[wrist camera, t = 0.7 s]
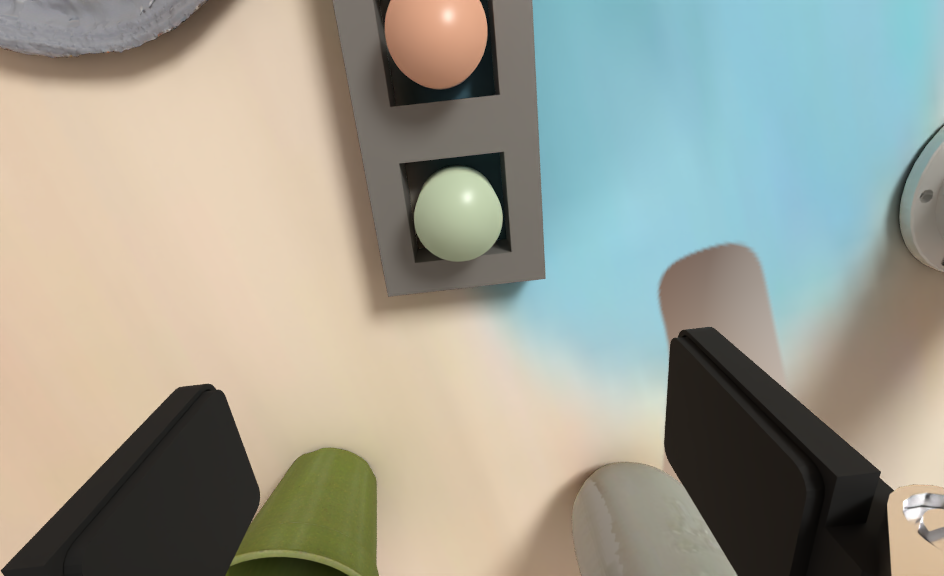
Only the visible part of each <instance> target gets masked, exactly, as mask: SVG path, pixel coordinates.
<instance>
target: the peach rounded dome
mask: <svg viewBox="0 0 944 576" xmlns="http://www.w3.org/2000/svg"><path fill="white" fill-rule="evenodd" d="M385 38H386V42H387V46H388V49H389V52H390V54H391V56H392V59H393V60H394V62H395V63H396V65H397V66H398V68H399V69H400V70H401V71H402V72H403V73H404V74H405V75H406V76H407V77H409V78H410V79H411V80H413V81H415V82H416V83H418V84H420V85H422V86H424V87H426V88H430V89H435V90H444V89H450V88H452V87H455V86H457V85H459V84H461V83H462V82H464V81H465V80H466V79H467V78H468V77H469V76H470V75H471V74H472V72H473V71H474V70H475V68H476V67H477V65H478V64H479V62H480V60H481V58H482V56H483V54H484V51H485V47H486V43H487V20H486V16H485V12H484V9H483V7H482V4H481V2H480V0H391V1H390V3H389V6H388V9H387V13H386V18H385Z"/></svg>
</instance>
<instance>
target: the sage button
mask: <svg viewBox="0 0 944 576" xmlns="http://www.w3.org/2000/svg"><path fill="white" fill-rule="evenodd" d="M502 221H503V214H502V208H501V205H500V202H499V200H498V198H497V196H496V194H495V192H494V190H493V188H492V186H491V184H490V182H489V181H488V180H487V178H486V177H485V176H484V175H483V174H482V173H480V172H479V171H477V170H475V169H474V168H471V167H468V166H464V165H450V166H446V167H443V168H441V169H439V170H437V171H436V172H434V173H433V174H432V175H430V176H429V178H428V179H427V180H426V181H425V183H424V184H423V186H422V189H421V191H420V194H419V197H418V200H417V203H416V207H415V211H414V225H415V229H416V232H417V235H418V237H419V239H420V241H421V242H422V244H423V245H424V246H425V247H426V248H427V249H428V250H429V251H430V252H431V253H433V254H434V255H436V256H437V257H440V258H442V259H445V260H448V261H455V262H461V261H468V260H472V259H475V258H477V257H479V256H481V255H483V254H484V253H485V252H487V251H488V250H489V249H490V248H491V247H492V246H493V244H494V243H495V242H496V240H497V238H498V237H499V234H500V232H501V228H502Z"/></svg>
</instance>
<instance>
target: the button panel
mask: <svg viewBox="0 0 944 576" xmlns="http://www.w3.org/2000/svg"><path fill="white" fill-rule="evenodd" d="M487 3H488V15H489V28H490V40H491V53H492V66H493V78H494V91H495V95H492V96H483V97H474V98H465V99H456V100H448V101H439V102H430V103H421V104H412V105H403V106H396V103H395V97H394V91H393V84H392V78H391V71H390V65H389V58H388V52H387V45H386V39H385V32H384V26H383V20H382V13H381V7H380V0H333V5H334V11H335V16H336V21H337V27H338V32H339V37H340V42H341V48H342V53H343V58H344V64H345V69H346V74H347V80H348V85H349V90H350V96H351V101H352V106H353V112H354V117H355V122H356V128H357V133H358V138H359V144H360V149H361V154H362V160H363V165H364V170H365V176H366V181H367V186H368V192H369V197H370V202H371V208H372V213H373V218H374V224H375V229H376V234H377V240H378V245H379V250H380V256H381V261H382V266H383V272H384V277H385V282H386V288H387V293H388V297H389V296H398V295H407V294H416V293H424V292H433V291H442V290H451V289H459V288H468V287H477V286H486V285H495V284H503V283H512V282H521V281H530V280H538V279H546V278H545V258H544V237H543V216H542V195H541V174H540V154H539V133H538V112H537V91H536V71H535V50H534V29H533V8H532V0H487ZM496 152H499V154H500V166H501V179H502V191H503V204H504V217H505V229H506V239H501V240H496V242H495V243H494V244H493V246H492V247H491V248H490V249H489V250H488V251H487V252H485V253H484V254H483V255H481V256H479V257H477V258H475V259H472V260H468V261H461V262H455V261H448V260H445V259H442V258H440V257H437V256H436V255H434V254H433V253H431V252H430V251H429V250H428V249H427V248H422V249H418V246H417V239H416V233H415V226H414V220H413V213H412V207H411V200H410V194H409V187H408V181H407V175H406V168H405V163H408V162H417V161H426V160H435V159H443V158H452V157H461V156H470V155H479V154H488V153H496Z"/></svg>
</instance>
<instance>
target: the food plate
mask: <svg viewBox="0 0 944 576" xmlns="http://www.w3.org/2000/svg"><path fill="white" fill-rule="evenodd" d="M207 1H208V0H0V47H1V48H3V49H6V50H8V49H9V50H12V51H15V52H19V53H24V54H29V55H44V56H48V57H52V58H54V57H56V58H57V57H59V56H61V57H63V56H64V57H69V56H71V57H72V56H76V57H77V56H79V55H80V54H82V55H83V54H85V53H91V54H92V53H94V54H95V53H101V52H102V53H104V52H107V53H109V52H110V51H112V52H113V51H115V52H120V53H121V52H123V50H125V49H127V50H129V49H131V48H133V47H137V46H141V45H142V44H143V43H145V42H147V41H150V40H154V39H156V38H157V37H158V36H159V35H162V34H164V33H165V32H169V31H170V30H171V29H172V28H173V27H174V28H175V29H176V28H177V26H178V27H179V25H180V23H182V22H183V21H184V22H185V20H186V19H188V18H189V16H190V15H191V14H193V13H194V12H195V11H196V10H197V9H199V7H200V6H202V5H203V4H204V3H205V2H207ZM173 30H174V29H173ZM171 31H172V30H171Z"/></svg>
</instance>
